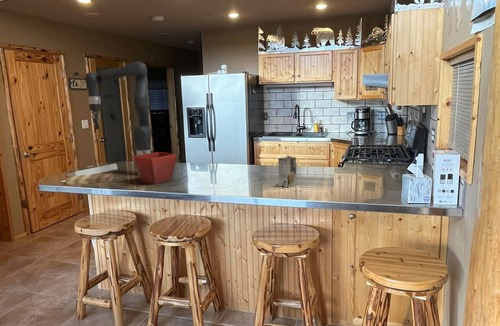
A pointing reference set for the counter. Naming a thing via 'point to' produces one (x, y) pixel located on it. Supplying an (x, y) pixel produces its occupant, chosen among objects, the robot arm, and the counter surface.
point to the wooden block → (101, 178)
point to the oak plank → (79, 179)
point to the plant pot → (155, 166)
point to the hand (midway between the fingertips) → (97, 129)
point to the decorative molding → (94, 170)
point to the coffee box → (287, 171)
